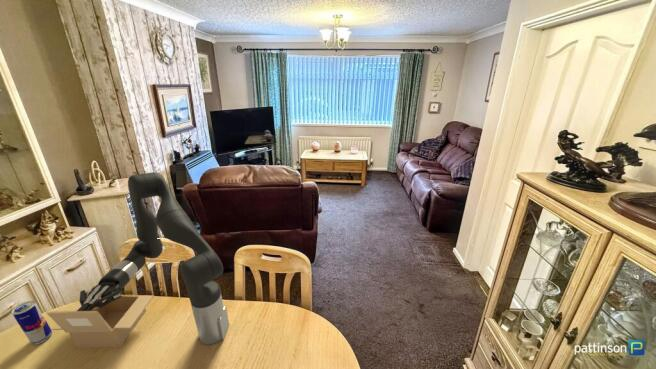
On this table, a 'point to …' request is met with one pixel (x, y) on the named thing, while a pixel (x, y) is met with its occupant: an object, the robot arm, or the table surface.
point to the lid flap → (80, 321)
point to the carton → (113, 322)
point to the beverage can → (32, 322)
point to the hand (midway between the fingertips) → (77, 316)
